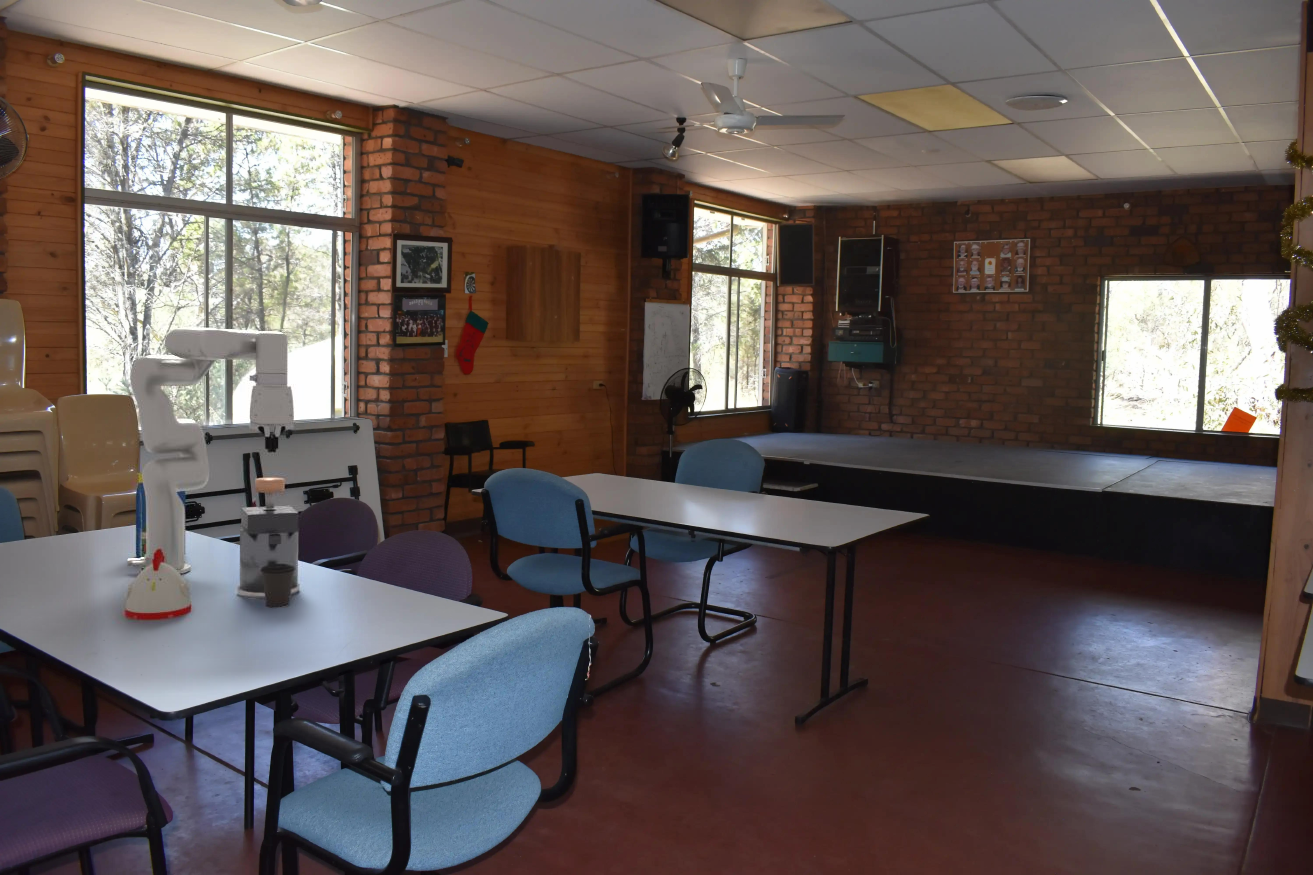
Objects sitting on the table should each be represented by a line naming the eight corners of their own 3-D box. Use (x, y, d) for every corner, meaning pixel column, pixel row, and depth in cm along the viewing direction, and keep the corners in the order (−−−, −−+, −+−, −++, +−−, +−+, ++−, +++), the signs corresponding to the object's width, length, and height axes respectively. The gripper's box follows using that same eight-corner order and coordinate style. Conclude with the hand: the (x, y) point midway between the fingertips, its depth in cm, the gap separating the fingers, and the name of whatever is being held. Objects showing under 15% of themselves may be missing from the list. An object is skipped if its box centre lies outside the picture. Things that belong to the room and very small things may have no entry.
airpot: (243, 604, 236) (243, 517, 234) (233, 588, 252) (234, 506, 250) (306, 598, 244) (307, 515, 242) (294, 583, 259) (295, 504, 258)
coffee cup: (282, 610, 232) (283, 569, 231) (253, 607, 234) (253, 566, 233) (301, 602, 240) (302, 562, 239) (272, 599, 242) (273, 560, 241)
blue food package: (135, 556, 285) (135, 472, 283) (178, 551, 293) (179, 470, 291) (141, 559, 280) (141, 474, 279) (185, 555, 289) (185, 473, 287)
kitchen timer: (117, 620, 218) (117, 555, 217) (133, 605, 231) (133, 544, 230) (184, 618, 222) (185, 554, 220) (196, 604, 235) (196, 543, 234)
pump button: (257, 510, 242) (257, 481, 242) (253, 506, 249) (253, 477, 248) (286, 509, 246) (286, 480, 245) (281, 505, 252) (282, 477, 251)
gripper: (242, 380, 238) (242, 453, 239) (305, 381, 245) (304, 452, 247) (238, 379, 244) (238, 451, 245) (299, 380, 252) (299, 450, 253)
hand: (271, 451), depth 246 cm, fingers closed
